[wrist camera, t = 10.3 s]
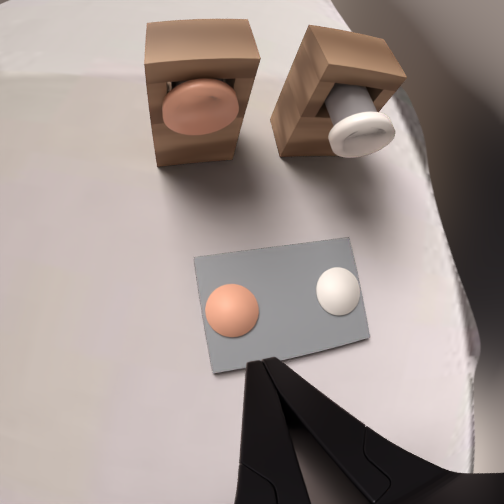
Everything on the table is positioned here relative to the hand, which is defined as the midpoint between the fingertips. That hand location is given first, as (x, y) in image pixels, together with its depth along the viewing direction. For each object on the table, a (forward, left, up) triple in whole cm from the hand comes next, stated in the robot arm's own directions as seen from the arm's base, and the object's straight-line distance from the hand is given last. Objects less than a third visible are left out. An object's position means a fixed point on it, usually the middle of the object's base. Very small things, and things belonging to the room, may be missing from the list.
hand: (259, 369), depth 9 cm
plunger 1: (+10, -13, -8) cm, 18 cm away
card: (-2, -5, -13) cm, 15 cm away
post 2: (+3, -19, -13) cm, 23 cm away
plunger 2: (+1, -17, -8) cm, 19 cm away
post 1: (+10, -13, -13) cm, 21 cm away
